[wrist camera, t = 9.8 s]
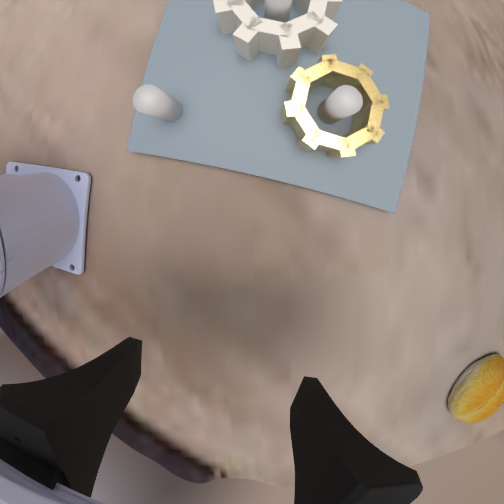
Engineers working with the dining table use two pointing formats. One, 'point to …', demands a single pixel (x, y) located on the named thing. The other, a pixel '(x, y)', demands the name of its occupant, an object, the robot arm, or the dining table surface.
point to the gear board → (283, 98)
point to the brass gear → (334, 76)
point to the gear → (277, 28)
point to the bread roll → (478, 390)
